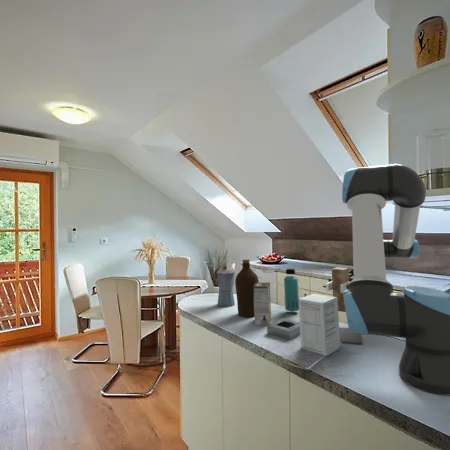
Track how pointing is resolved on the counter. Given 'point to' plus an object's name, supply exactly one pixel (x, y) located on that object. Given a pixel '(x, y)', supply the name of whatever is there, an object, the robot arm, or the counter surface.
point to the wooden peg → (339, 278)
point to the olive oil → (245, 290)
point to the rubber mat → (349, 336)
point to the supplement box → (319, 324)
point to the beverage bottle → (291, 291)
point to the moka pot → (225, 286)
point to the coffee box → (262, 303)
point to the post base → (284, 328)
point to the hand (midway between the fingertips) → (334, 287)
